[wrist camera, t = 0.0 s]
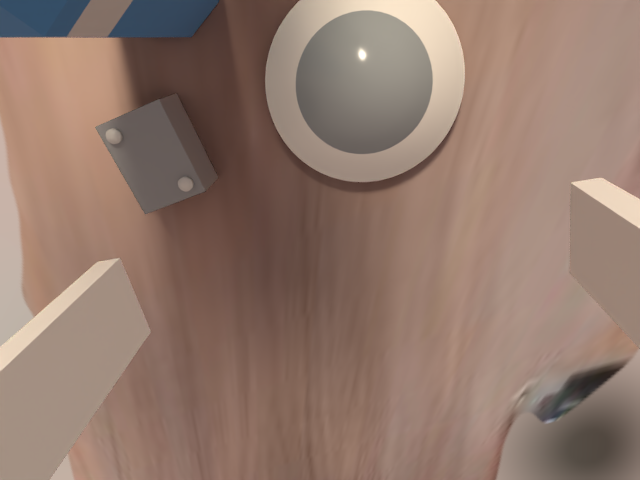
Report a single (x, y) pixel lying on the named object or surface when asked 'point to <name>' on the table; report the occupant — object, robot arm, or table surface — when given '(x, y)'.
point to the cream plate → (364, 84)
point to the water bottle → (103, 18)
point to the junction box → (159, 153)
